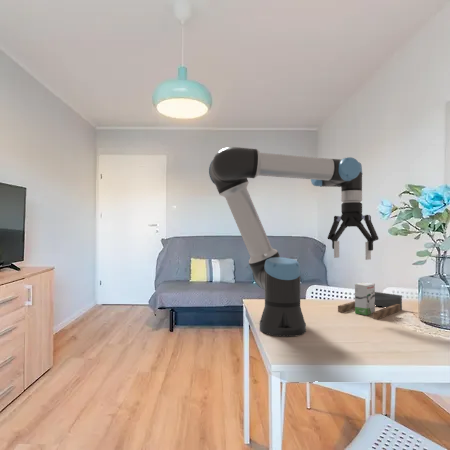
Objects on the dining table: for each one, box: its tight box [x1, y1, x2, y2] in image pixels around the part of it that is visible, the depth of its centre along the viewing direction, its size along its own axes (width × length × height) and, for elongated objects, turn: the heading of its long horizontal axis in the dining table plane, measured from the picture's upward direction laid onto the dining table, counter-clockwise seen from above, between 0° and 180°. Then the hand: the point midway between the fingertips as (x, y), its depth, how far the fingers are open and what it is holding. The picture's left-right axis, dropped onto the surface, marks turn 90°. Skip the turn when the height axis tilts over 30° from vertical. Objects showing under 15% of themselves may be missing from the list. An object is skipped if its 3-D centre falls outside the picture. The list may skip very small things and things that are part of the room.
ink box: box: [354, 281, 376, 316], centre depth 136 cm, size 9×5×12 cm, turn 134°
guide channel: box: [337, 291, 403, 320], centre depth 139 cm, size 24×16×6 cm
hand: (351, 258), depth 130 cm, fingers open, 12 cm apart
